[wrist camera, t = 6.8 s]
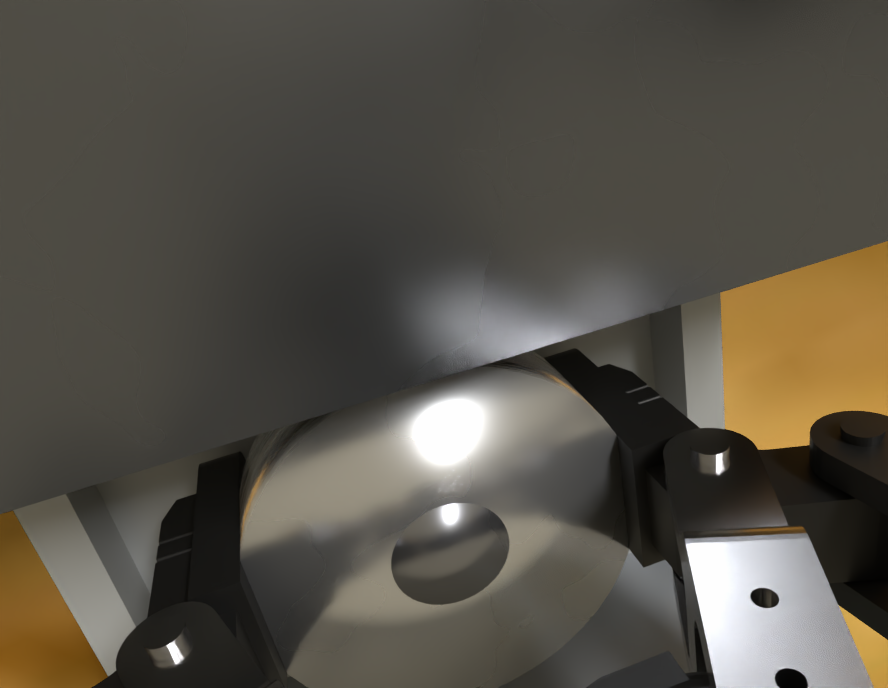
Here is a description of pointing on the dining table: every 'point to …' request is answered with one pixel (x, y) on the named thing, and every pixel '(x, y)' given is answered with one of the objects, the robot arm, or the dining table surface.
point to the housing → (390, 196)
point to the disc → (435, 530)
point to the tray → (156, 489)
